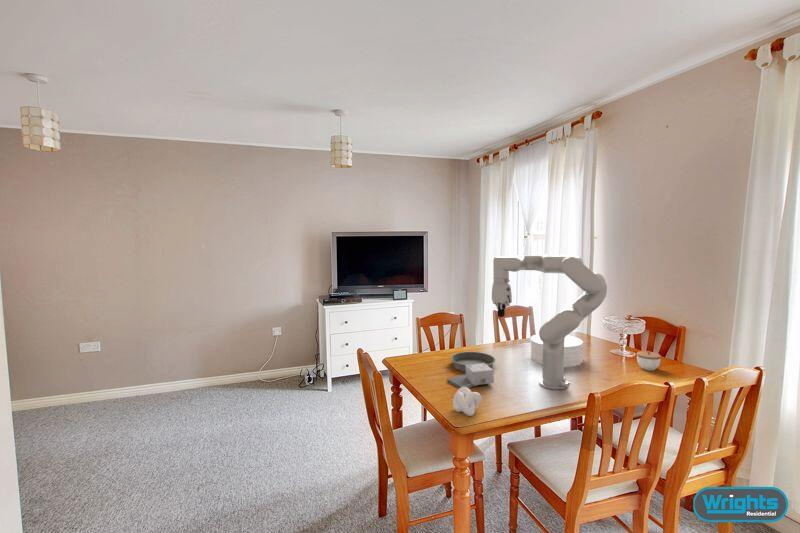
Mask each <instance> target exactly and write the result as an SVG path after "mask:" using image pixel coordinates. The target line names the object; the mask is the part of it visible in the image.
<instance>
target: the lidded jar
mask: <svg viewBox="0 0 800 533" xmlns="http://www.w3.org/2000/svg"><path fill="white" fill-rule="evenodd" d="M661 358H662V355H661V354H659V353H657V352H652V351H650V350H647V351H646V350H645V351H644V350H643V351H637V352H636V361H637V364H638V366H640V367H641V369H642V370H645V371H655V370H656V369H657V368H659V366H660V364H661Z"/></svg>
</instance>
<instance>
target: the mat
mask: <svg viewBox="0 0 800 533" xmlns="http://www.w3.org/2000/svg"><path fill="white" fill-rule="evenodd" d="M446 382H448V383H450V384H451V385H453V386H455V387H456V388H458V389H460V388H462V387H467V388H468V389H470V388H473V387H476V386H478V385H473V384H472V383H471V382H470V381H469V380H468V379H467V378H466V373H465V374H462V375H457V376H455V377H449V378H446Z"/></svg>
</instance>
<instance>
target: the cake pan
mask: <svg viewBox="0 0 800 533" xmlns="http://www.w3.org/2000/svg"><path fill="white" fill-rule="evenodd" d="M450 361H452V363H453V368H455V369H457V370H459V371H461V372H466V369H465V365H472V364H483V362H485V364H486V363H487V364H486V365H487V366H489V367H490V368H491V369H493V366H494V363H495V362H496V358H495V357H494V356H493V355H490V354H488V353H485V352H479V351H462V352H457V353H454V354H452V355H451V356H450Z"/></svg>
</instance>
